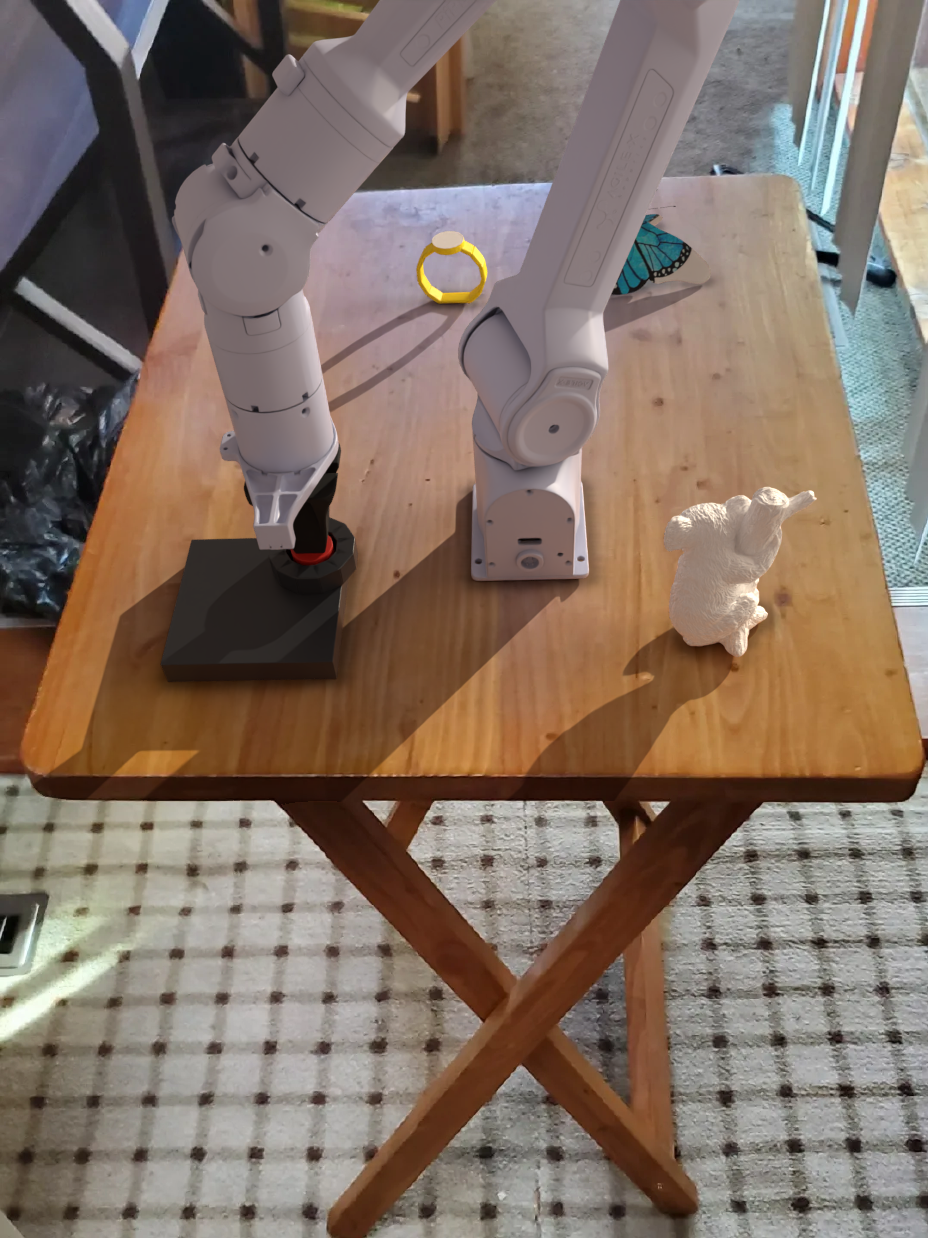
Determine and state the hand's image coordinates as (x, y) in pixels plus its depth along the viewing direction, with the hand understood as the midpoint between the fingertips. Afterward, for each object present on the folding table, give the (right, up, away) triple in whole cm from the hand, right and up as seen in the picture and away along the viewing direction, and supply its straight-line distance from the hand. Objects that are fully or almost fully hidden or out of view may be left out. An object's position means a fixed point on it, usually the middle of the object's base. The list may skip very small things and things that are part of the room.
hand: (311, 546), depth 72 cm
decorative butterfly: (+25, +27, +25) cm, 45 cm away
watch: (+9, +23, +23) cm, 34 cm away
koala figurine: (+27, -6, -2) cm, 27 cm away
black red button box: (-3, -5, +1) cm, 6 cm away
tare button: (0, -1, +1) cm, 1 cm away
